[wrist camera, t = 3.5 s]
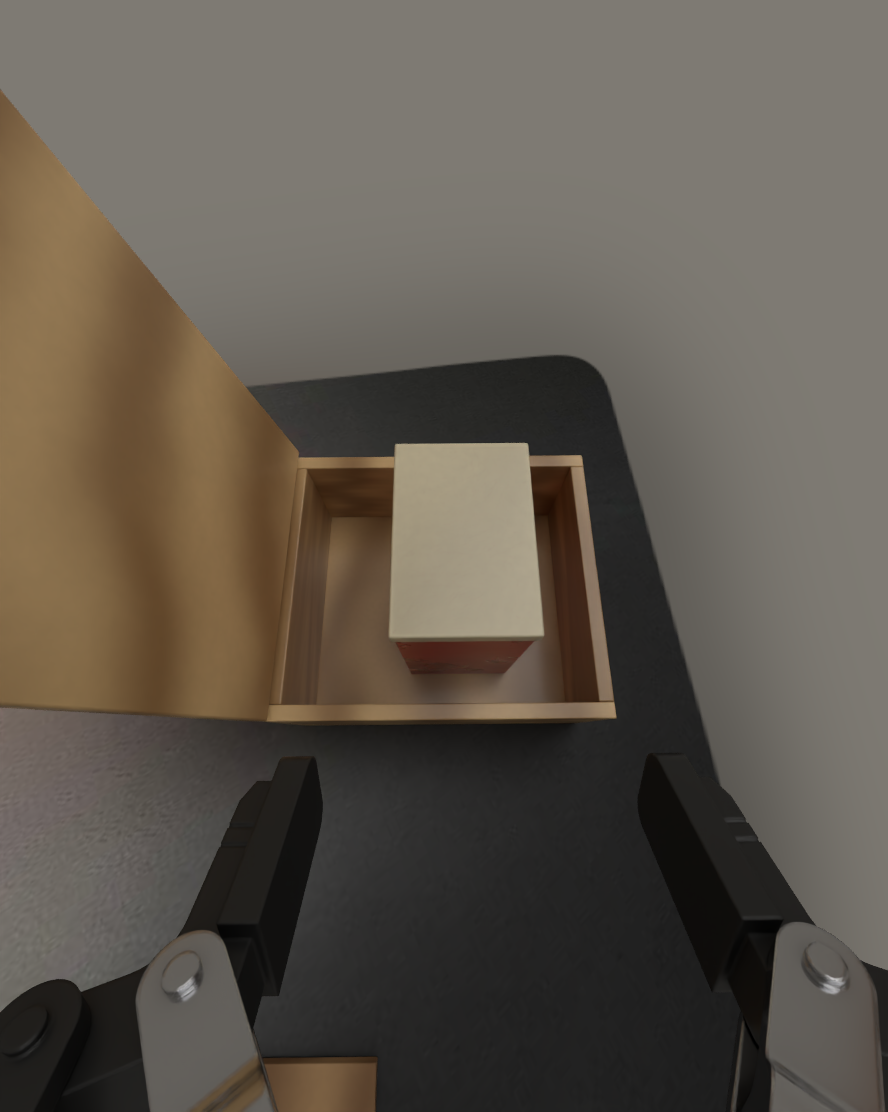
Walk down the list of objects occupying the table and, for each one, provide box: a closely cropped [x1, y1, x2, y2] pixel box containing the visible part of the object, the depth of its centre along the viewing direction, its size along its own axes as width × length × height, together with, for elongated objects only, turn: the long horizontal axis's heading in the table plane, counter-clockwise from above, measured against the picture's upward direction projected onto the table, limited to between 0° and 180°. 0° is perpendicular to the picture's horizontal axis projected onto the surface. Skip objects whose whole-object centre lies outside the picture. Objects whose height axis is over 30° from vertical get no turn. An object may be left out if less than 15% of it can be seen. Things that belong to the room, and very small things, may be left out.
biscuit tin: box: [388, 443, 544, 674], centre depth 23 cm, size 6×8×11 cm
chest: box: [264, 455, 616, 726], centre depth 26 cm, size 15×13×7 cm
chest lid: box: [0, 90, 299, 721], centre depth 15 cm, size 16×13×1 cm
